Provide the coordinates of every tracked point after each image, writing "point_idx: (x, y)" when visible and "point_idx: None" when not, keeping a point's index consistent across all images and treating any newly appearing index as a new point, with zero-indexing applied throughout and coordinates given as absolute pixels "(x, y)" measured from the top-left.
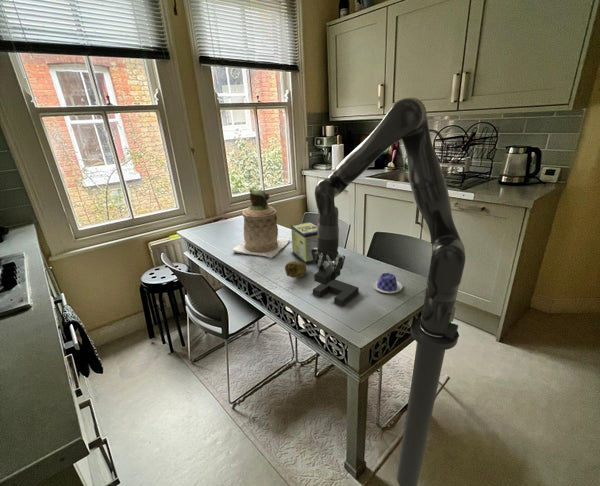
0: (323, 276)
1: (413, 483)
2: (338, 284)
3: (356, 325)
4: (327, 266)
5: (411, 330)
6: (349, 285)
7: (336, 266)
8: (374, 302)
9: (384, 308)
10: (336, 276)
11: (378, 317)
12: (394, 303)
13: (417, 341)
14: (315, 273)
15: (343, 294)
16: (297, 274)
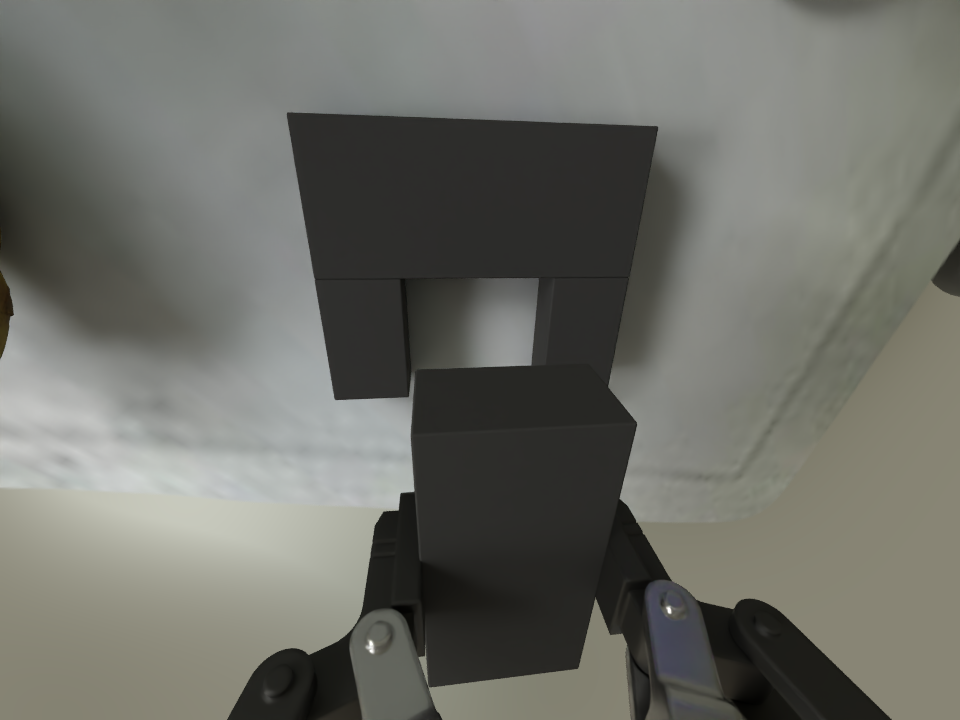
0: (545, 663)
1: None
2: (461, 201)
3: (717, 449)
4: (431, 506)
5: (948, 257)
6: (563, 148)
7: (696, 656)
8: (779, 191)
9: (852, 221)
10: (628, 523)
11: (817, 332)
12: (929, 104)
13: (945, 291)
14: (431, 677)
15: (581, 320)
16: (2, 332)
